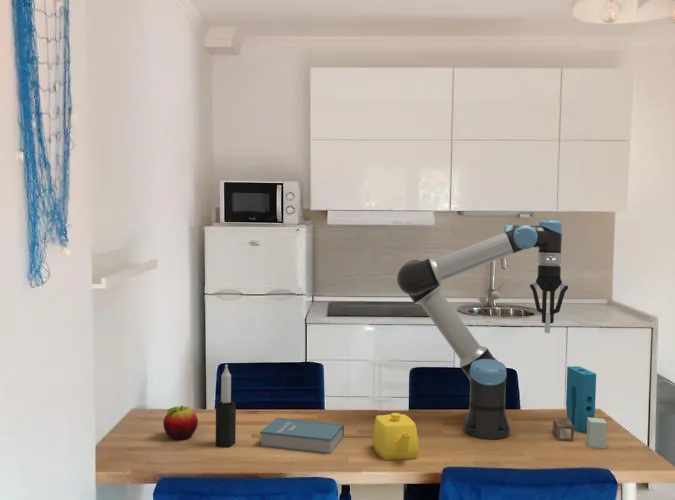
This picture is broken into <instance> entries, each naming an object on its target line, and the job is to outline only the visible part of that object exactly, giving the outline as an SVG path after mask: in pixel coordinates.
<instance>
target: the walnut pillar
mask: <svg viewBox="0 0 675 500" xmlns="http://www.w3.org/2000/svg"><path fill="white" fill-rule="evenodd" d="M552 433H553V434H554V435H553V436H554V437H555V439H556V440H557V441H562V442H564V441H565V442H574V435H575V429H574V426H573V424H572V423H571V421H570V420H569V418H567V417H552Z"/></svg>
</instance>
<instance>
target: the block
mask: <svg viewBox="0 0 675 500" xmlns="http://www.w3.org/2000/svg"><path fill="white" fill-rule="evenodd" d="M596 390H597V373H596V372H594V371H591V370H589V369H587V368H584V367H583V366H575V365H574V366H571V365H569V366H567V368H566V392H565V393H566V396H565V397H566V398H565V399H566V400H565V401H566V402H565V408H566V418H569V420H570V421H571V423H572V424H573V426H574V431H577V432H581V433H582V432H583V433H584V432H585V433H587V417H589V418H595V415H596V396H597V395H596V392H597V391H596Z"/></svg>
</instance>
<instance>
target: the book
mask: <svg viewBox="0 0 675 500" xmlns="http://www.w3.org/2000/svg"><path fill="white" fill-rule="evenodd" d="M259 434H260V437H261V438H260V439H261V442H260V444H259V446H260V447H266V448H275V449H283V450H292V451H302V452H311V453H317V454H318V453H320V454H329V455H330V454H332V453H333V452H334V450H336V448H337V447H338V445H339V444H340V443H341V442H342V440H343V439H344V437H345V425H344V424H343V423H337V422H336V423H334V422H325V421H324V422H323V421H318V420H317V421H316V420H307V419H306V420H305V419H295V418H286V417H275V418H274V419H273V420H272V421H271V422H270V423H268V424H267V425H266V426H265V427H264V428H262V429H261V430H260V431H259Z"/></svg>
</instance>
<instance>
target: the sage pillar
mask: <svg viewBox="0 0 675 500" xmlns="http://www.w3.org/2000/svg"><path fill="white" fill-rule="evenodd" d="M607 430H608V423H607V422H606V420H605V418H603V417H602V418H599V417H594V418H589V417H587V432H586V440H585V441H586V444H587V446H588V447H589V448H595V449H596V448H597V449H599V448H600V449H606V448H607V433H608V432H607Z"/></svg>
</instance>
